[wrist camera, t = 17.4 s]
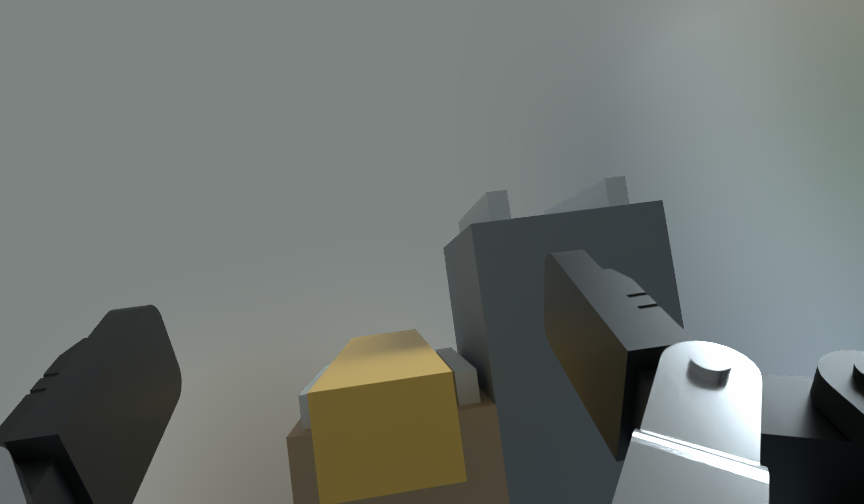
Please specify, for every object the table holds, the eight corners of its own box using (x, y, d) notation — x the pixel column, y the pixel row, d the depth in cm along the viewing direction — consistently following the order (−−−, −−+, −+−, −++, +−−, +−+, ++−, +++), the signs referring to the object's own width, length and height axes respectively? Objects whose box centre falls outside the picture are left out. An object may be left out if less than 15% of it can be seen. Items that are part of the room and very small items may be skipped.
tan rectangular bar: (467, 481, 14) (452, 371, 15) (320, 506, 14) (306, 392, 14) (421, 376, 33) (415, 329, 34) (358, 386, 33) (352, 338, 33)
